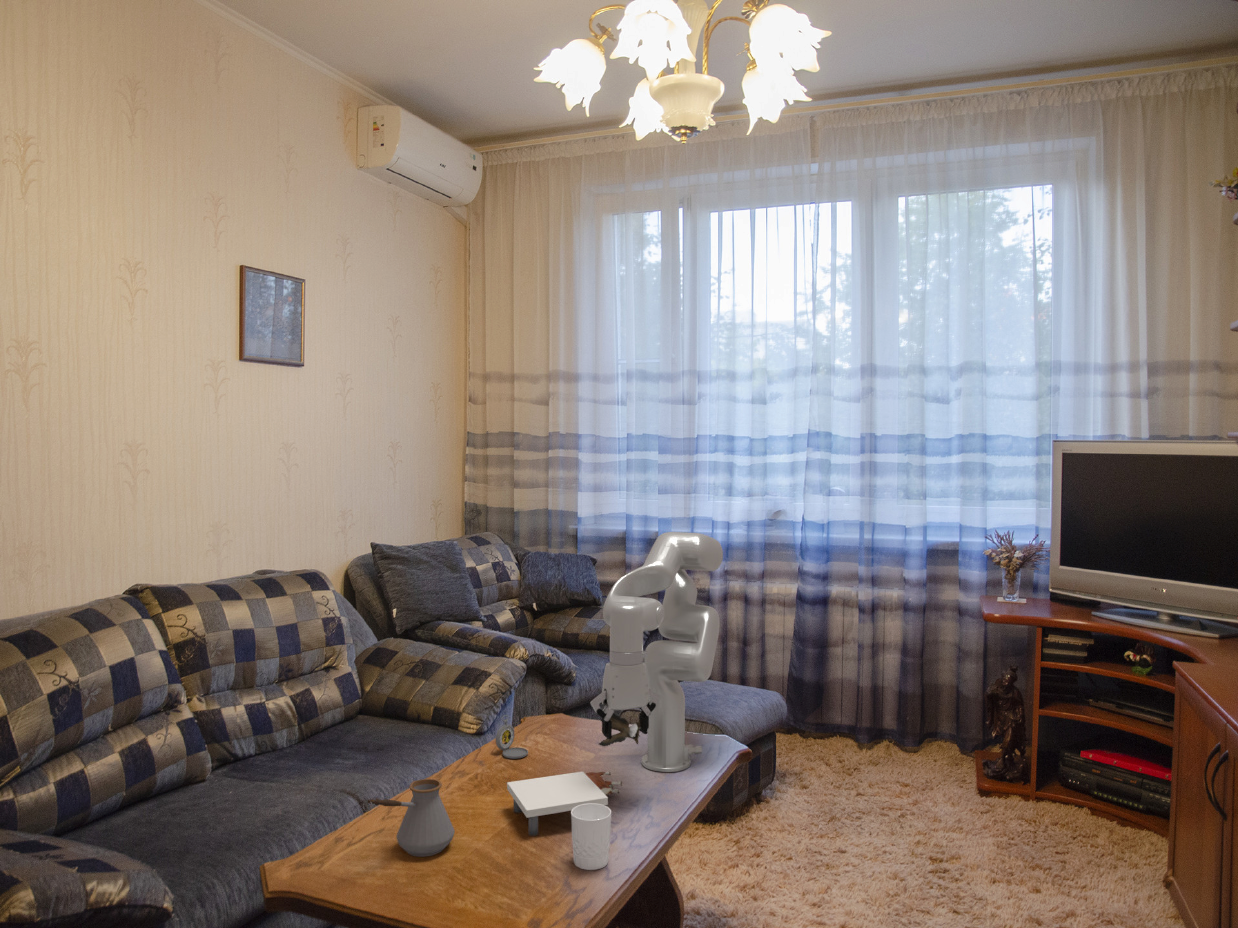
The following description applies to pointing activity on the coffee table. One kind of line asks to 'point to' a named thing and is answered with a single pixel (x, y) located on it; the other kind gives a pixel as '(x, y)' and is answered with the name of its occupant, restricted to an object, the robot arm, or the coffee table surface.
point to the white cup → (591, 835)
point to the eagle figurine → (622, 730)
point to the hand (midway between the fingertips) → (625, 734)
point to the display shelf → (553, 795)
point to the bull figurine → (603, 782)
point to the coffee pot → (422, 819)
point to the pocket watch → (508, 742)
